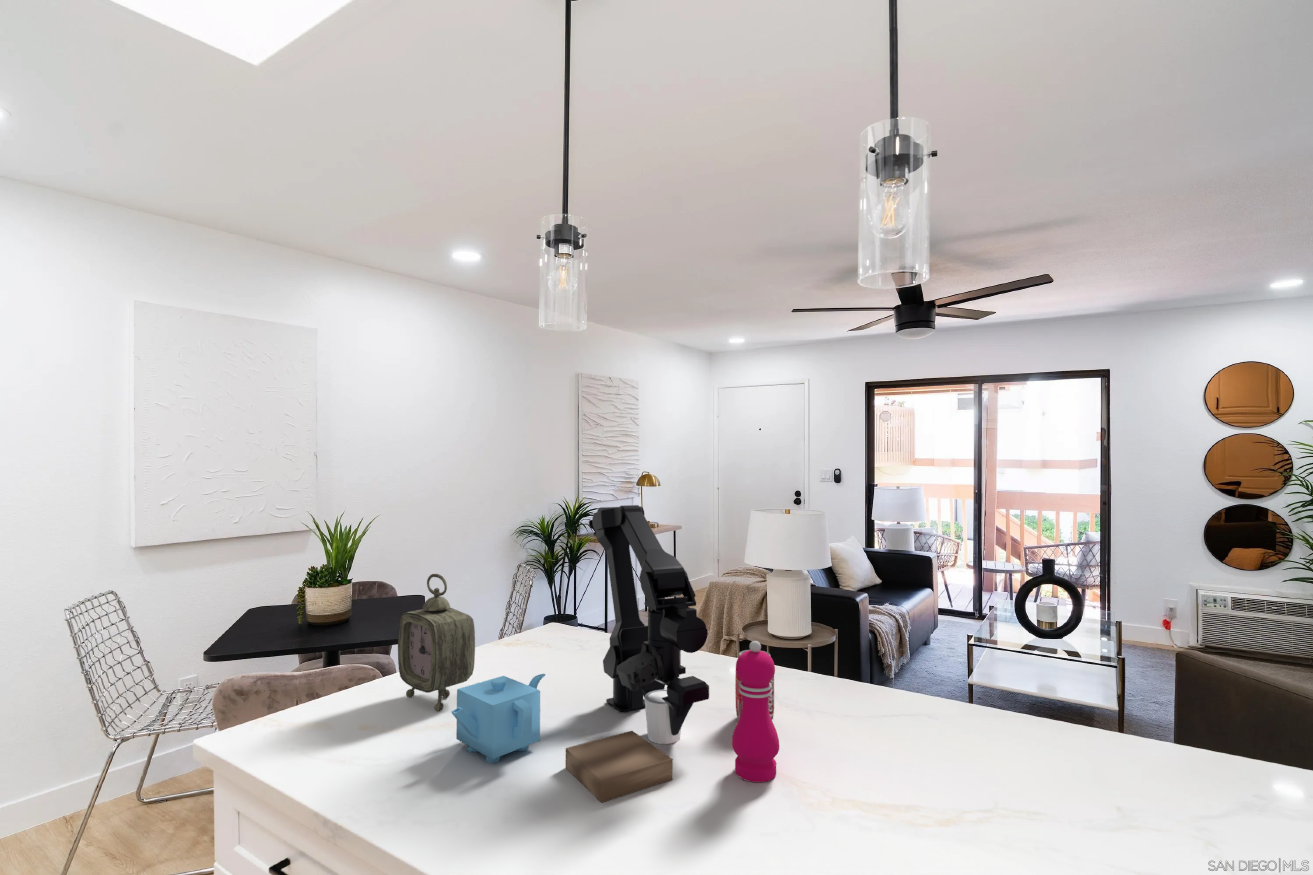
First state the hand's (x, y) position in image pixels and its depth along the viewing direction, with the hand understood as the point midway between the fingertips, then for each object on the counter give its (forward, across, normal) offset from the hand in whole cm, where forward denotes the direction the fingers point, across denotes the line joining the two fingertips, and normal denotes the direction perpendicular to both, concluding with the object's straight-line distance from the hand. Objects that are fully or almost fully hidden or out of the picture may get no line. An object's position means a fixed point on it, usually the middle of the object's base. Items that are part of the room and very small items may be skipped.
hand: (664, 727), depth 111 cm
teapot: (+2, -11, -25) cm, 27 cm away
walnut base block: (+2, +7, -13) cm, 15 cm away
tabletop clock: (+2, -38, -29) cm, 48 cm away
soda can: (+2, +3, +18) cm, 18 cm away
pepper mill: (+2, +18, +5) cm, 19 cm away
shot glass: (+2, 0, 0) cm, 2 cm away
